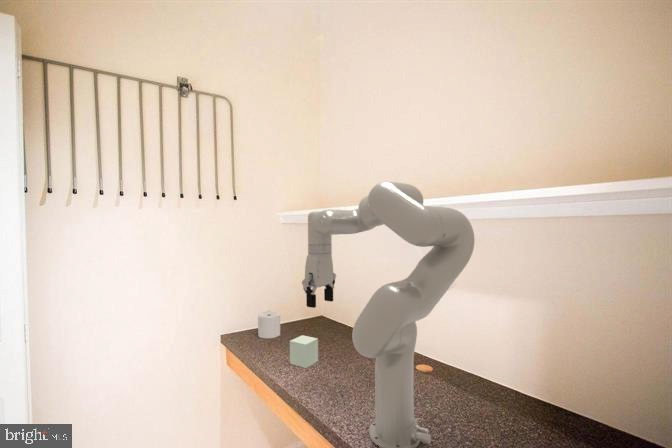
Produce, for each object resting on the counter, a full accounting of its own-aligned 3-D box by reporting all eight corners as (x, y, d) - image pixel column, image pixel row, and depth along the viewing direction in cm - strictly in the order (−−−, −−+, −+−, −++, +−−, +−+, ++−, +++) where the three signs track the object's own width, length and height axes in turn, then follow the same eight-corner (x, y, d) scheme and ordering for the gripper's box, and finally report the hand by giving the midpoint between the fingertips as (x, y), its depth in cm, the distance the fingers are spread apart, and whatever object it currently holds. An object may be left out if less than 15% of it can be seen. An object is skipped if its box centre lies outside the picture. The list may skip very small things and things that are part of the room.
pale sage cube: (318, 360, 128) (317, 338, 128) (306, 368, 121) (305, 344, 121) (302, 356, 132) (302, 335, 132) (289, 363, 126) (289, 340, 126)
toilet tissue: (265, 340, 152) (264, 318, 152) (252, 334, 161) (252, 314, 161) (284, 335, 159) (284, 314, 159) (271, 329, 168) (271, 310, 168)
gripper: (325, 248, 113) (325, 297, 113) (293, 251, 99) (293, 308, 98) (343, 248, 109) (344, 300, 109) (313, 252, 95) (313, 311, 94)
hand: (320, 303), depth 104 cm, fingers open, 9 cm apart
